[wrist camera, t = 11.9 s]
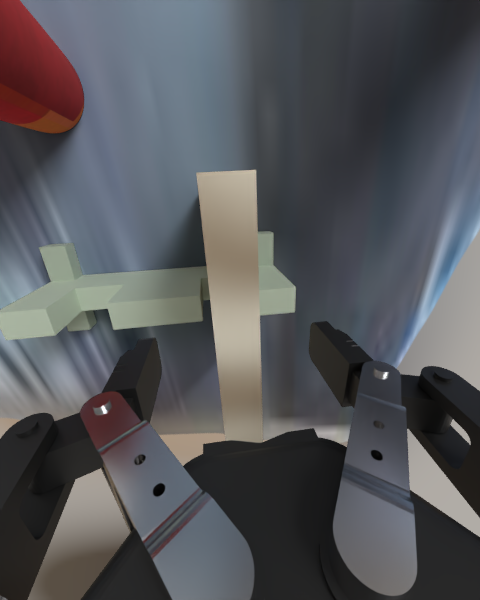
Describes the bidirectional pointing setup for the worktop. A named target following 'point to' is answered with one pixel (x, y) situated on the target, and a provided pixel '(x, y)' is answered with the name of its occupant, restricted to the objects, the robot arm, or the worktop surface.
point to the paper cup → (35, 75)
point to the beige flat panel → (234, 296)
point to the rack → (129, 295)
